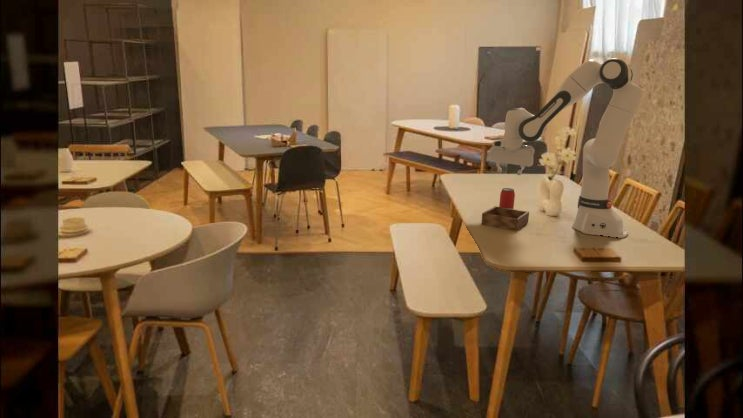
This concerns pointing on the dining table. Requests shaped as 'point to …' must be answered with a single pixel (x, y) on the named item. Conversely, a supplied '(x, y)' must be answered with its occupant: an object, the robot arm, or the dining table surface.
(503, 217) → the walnut box
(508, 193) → the beer can
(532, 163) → the robot arm
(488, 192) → the dining table surface
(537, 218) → the dining table surface
